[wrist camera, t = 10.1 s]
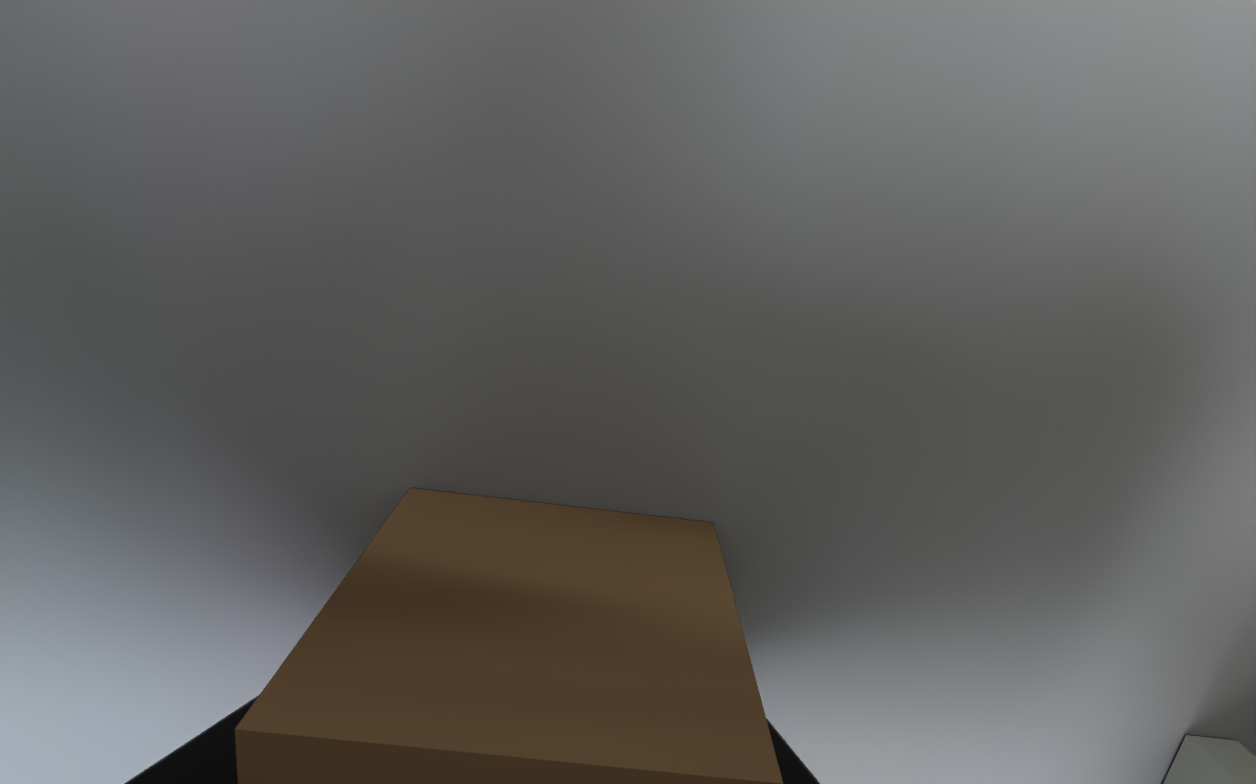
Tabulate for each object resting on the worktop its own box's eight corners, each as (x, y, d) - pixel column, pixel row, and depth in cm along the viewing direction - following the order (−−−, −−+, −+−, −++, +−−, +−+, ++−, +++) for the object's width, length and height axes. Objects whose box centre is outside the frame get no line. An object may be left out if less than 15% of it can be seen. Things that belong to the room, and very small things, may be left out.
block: (669, 760, 10) (697, 1121, 6) (401, 733, 10) (254, 1087, 6) (714, 522, 9) (783, 783, 5) (410, 487, 9) (235, 728, 5)
